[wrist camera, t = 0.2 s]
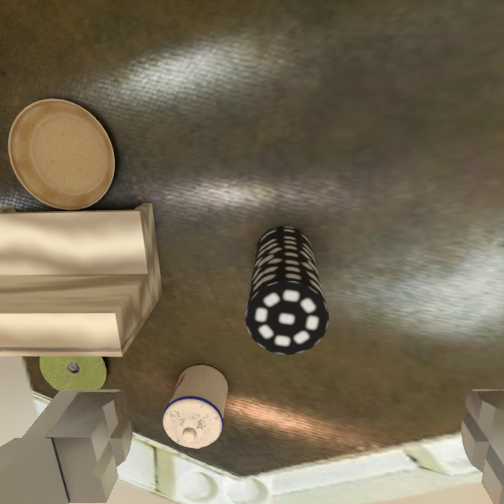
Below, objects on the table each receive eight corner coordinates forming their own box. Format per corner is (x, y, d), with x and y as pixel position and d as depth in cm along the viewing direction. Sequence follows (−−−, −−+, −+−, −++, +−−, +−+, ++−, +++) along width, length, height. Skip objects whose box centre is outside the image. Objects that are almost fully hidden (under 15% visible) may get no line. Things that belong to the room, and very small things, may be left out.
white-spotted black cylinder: (252, 274, 60) (240, 347, 41) (260, 222, 57) (251, 274, 38) (306, 283, 60) (319, 360, 41) (317, 230, 57) (336, 287, 38)
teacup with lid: (175, 361, 66) (154, 410, 55) (229, 364, 65) (220, 414, 54) (178, 419, 70) (159, 475, 59) (229, 422, 69) (220, 480, 58)
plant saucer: (70, 225, 59) (61, 230, 57) (-2, 143, 56) (-15, 144, 54) (143, 167, 56) (136, 169, 53) (70, 75, 52) (60, 73, 50)
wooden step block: (6, 206, 59) (-96, 240, 43) (151, 202, 57) (102, 236, 41) (28, 294, 63) (-57, 355, 47) (162, 294, 62) (122, 356, 46)
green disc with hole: (38, 333, 66) (31, 339, 64) (104, 331, 65) (99, 338, 63) (54, 389, 69) (47, 397, 67) (116, 388, 68) (111, 396, 67)
